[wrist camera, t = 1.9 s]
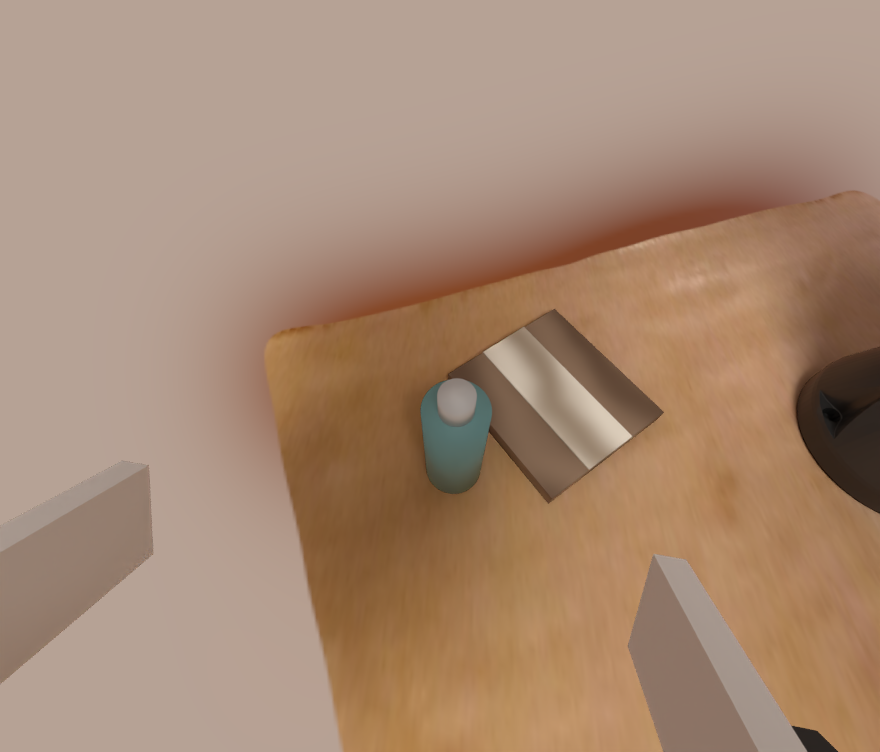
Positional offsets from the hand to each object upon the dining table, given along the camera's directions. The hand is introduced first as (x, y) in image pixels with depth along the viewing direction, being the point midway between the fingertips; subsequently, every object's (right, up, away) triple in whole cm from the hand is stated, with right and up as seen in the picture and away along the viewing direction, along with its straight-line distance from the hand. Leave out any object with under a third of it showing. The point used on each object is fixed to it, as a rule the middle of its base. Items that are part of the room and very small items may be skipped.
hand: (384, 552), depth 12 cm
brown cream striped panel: (+12, +2, +30) cm, 32 cm away
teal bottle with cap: (+3, -3, +27) cm, 27 cm away
